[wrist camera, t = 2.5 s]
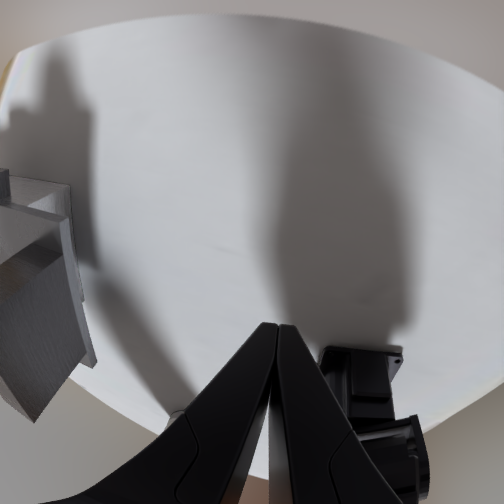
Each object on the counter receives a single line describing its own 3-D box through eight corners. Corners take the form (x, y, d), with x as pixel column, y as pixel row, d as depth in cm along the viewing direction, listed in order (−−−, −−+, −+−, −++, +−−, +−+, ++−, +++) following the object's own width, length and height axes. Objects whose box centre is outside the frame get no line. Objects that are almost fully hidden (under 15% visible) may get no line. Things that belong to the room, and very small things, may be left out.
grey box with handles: (68, 159, 18) (19, 178, 14) (87, 316, 25) (58, 349, 21) (3, 154, 19) (-37, 170, 15) (25, 286, 26) (-3, 311, 22)
